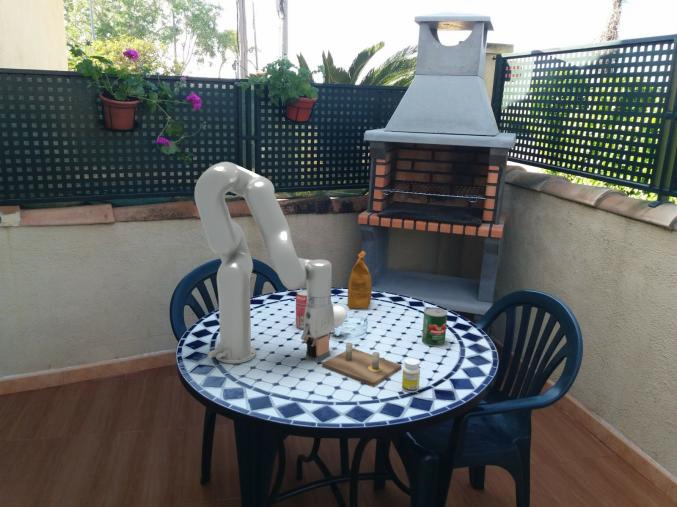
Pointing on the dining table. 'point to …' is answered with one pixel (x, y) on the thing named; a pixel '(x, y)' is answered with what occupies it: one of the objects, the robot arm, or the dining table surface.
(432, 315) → the canned tomato
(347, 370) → the pin board
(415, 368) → the supplement bottle
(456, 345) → the dining table surface
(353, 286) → the coffee package
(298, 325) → the soda can
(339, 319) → the lightbulb
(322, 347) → the sleeve
